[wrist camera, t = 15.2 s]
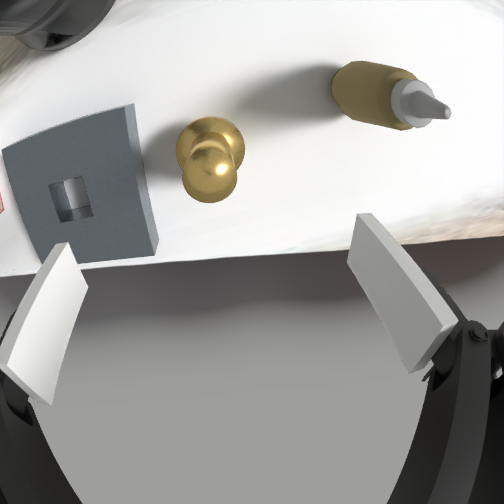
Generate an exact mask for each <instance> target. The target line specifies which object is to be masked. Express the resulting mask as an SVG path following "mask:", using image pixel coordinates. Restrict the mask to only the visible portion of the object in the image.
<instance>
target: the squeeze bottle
mask: <svg viewBox="0 0 504 504" xmlns="http://www.w3.org/2000/svg"><path fill="white" fill-rule="evenodd" d="M331 91H332V96H333V98H334V99H335V101H336V102H337V104H338V105H339V107H340V108H341V110H342V112H343V113H344V114H346V115H347V116H349V117H350V118H351V119H353V120H357V121H361V122H365V123H370V124H375V125H379V126H384V127H388V128H393V129H397V130H401V131H402V130H408V129H411V128H413V127H416V128H420V127H425V126H426V125H427V124H429V123H430V122H431V120H432V119H449V118H450V115H451V110H450V108H449V107H448V106H446V105H445V104H443V103H442V102H440V101H438V100H437V99H435V97H434V94H433V92H432V90H431V89H430V87H429V86H428V85H427V84H426V83H424V82H422V81H420V80H418V79H417V78H416V77H415V76H414V75H413V74H412V73H410V72H408V71H406V70H404V69H400V68H396V67H392V66H387V65H382V64H377V63H372V62H367V61H355V62H351V63H349V64H347V65H345V66H344V67H342V68H341V69H340V70H339V71H338V73H337V74H336V75H335V77H334V78H333V80H332V84H331Z"/></svg>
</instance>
